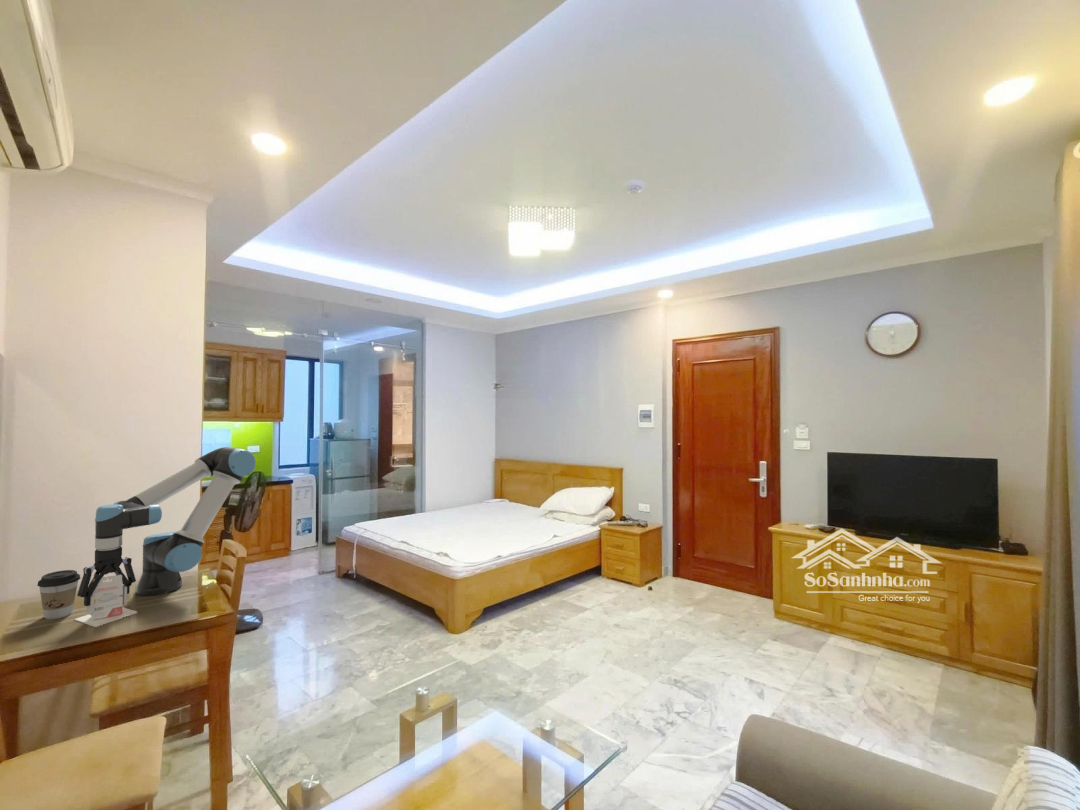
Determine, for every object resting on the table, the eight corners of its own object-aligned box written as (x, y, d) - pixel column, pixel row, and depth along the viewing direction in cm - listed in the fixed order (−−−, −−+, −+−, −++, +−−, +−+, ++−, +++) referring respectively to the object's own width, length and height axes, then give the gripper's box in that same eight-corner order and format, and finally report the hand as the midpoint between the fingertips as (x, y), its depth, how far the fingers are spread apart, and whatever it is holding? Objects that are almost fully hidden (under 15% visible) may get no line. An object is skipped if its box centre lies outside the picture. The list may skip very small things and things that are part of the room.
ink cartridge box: (122, 609, 183) (123, 570, 183) (122, 614, 179) (123, 574, 179) (91, 615, 178) (92, 575, 177) (90, 620, 174) (92, 579, 174)
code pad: (117, 606, 187) (117, 605, 187) (137, 612, 182) (137, 611, 182) (74, 619, 175) (74, 618, 175) (95, 627, 170) (95, 626, 170)
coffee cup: (31, 624, 170) (32, 581, 170) (42, 612, 180) (43, 571, 180) (75, 617, 176) (76, 576, 176) (83, 606, 186) (84, 567, 186)
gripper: (136, 538, 190) (135, 595, 190) (64, 554, 170) (62, 618, 170) (148, 541, 187) (147, 599, 187) (76, 557, 167) (74, 623, 167)
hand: (107, 608), depth 179 cm, fingers closed on ink cartridge box, 9 cm apart
